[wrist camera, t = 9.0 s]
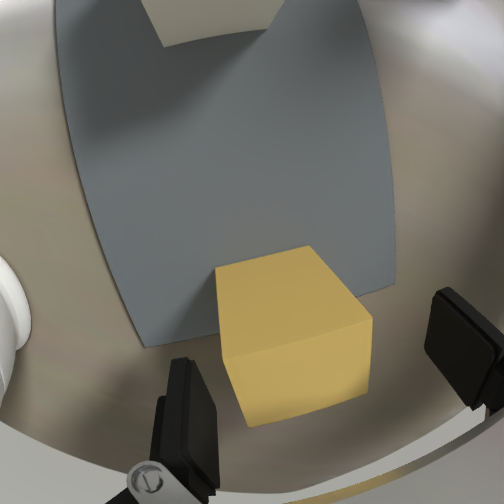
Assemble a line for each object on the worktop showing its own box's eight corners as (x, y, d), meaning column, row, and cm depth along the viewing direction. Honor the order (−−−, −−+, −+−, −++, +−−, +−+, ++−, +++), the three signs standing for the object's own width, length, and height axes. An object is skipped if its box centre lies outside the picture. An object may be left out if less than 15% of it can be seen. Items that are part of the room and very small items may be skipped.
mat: (323, -73, 9) (325, -75, 8) (391, 281, 18) (394, 283, 18) (59, -26, 8) (56, -29, 8) (146, 343, 17) (145, 347, 17)
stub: (309, 245, 16) (372, 317, 9) (316, 307, 17) (367, 392, 11) (215, 267, 15) (222, 359, 9) (232, 329, 17) (248, 427, 10)
